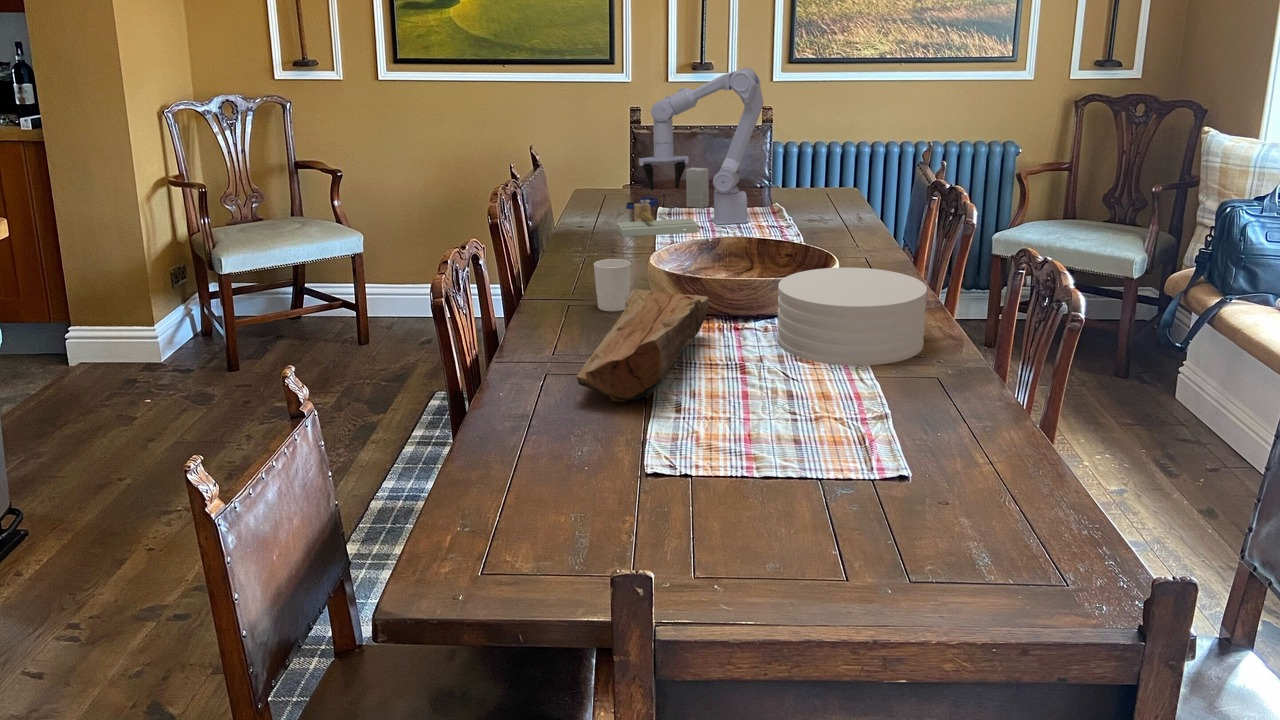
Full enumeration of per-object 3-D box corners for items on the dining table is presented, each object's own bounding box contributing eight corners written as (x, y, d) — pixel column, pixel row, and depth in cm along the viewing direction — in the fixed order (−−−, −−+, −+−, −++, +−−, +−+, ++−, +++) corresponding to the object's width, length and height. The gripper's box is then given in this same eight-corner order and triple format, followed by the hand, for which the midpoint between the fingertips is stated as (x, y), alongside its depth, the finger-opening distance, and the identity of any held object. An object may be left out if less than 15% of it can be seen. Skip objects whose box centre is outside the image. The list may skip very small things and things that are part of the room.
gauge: (647, 224, 317) (647, 202, 315) (657, 233, 306) (657, 210, 304) (634, 225, 316) (633, 203, 314) (644, 234, 305) (643, 211, 303)
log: (655, 412, 176) (664, 322, 173) (555, 395, 180) (562, 307, 177) (710, 368, 216) (718, 294, 213) (627, 355, 220) (634, 283, 218)
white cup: (618, 314, 231) (617, 269, 228) (588, 309, 235) (586, 265, 232) (638, 305, 237) (637, 261, 234) (608, 300, 241) (606, 257, 238)
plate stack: (838, 313, 229) (840, 260, 225) (952, 342, 209) (956, 284, 205) (747, 342, 212) (748, 286, 208) (862, 377, 192) (865, 315, 188)
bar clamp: (626, 196, 349) (657, 195, 349) (626, 203, 350) (657, 203, 350) (626, 220, 319) (659, 219, 319) (626, 228, 320) (659, 227, 320)
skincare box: (709, 206, 341) (709, 168, 337) (702, 208, 338) (702, 170, 334) (692, 204, 344) (692, 167, 340) (685, 207, 341) (685, 169, 337)
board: (691, 225, 315) (691, 218, 314) (698, 232, 306) (698, 224, 305) (616, 229, 312) (616, 222, 311) (622, 236, 302) (622, 229, 302)
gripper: (684, 139, 320) (685, 185, 325) (636, 141, 318) (637, 187, 322) (689, 142, 314) (690, 189, 318) (640, 145, 311) (641, 191, 316)
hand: (664, 188), depth 320 cm, fingers open, 7 cm apart
